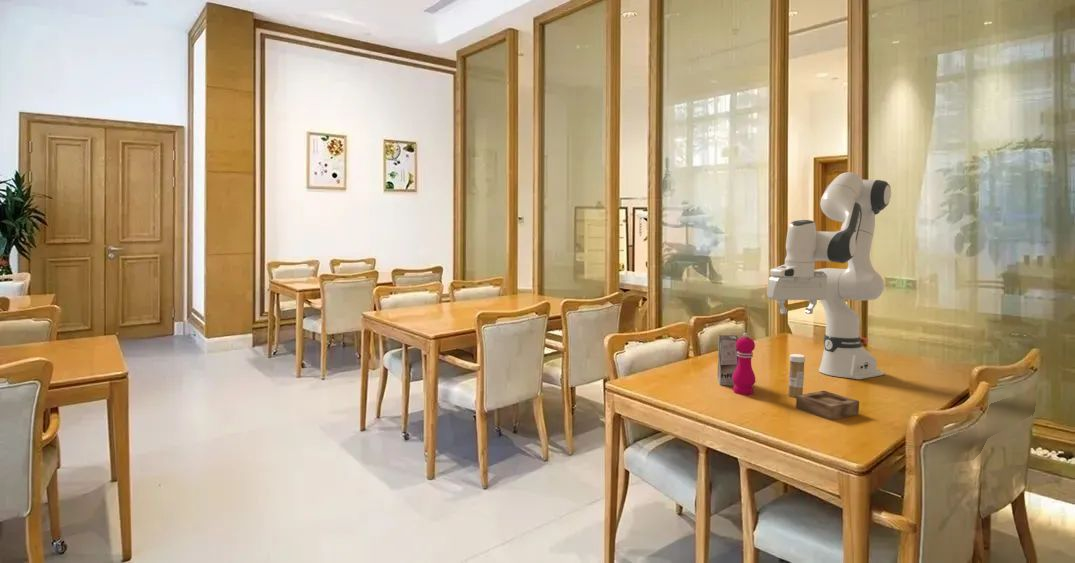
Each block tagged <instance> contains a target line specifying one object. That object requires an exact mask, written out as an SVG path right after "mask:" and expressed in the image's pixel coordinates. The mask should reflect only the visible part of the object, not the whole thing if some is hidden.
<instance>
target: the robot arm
mask: <svg viewBox="0 0 1075 563" xmlns="http://www.w3.org/2000/svg"><path fill="white" fill-rule="evenodd" d="M891 199H892V189H891V185H890V184H889V183H888V182H887V181H885V180H881V179H875V180H873V179H863V178H862V177H861V176H860V175H859V174H856V173H855V172H850V171H846V172H843V173H840V174H838V176H836V177H835V178H834V179H833V180H832V181H831V182H830V183H828V184H827V186H826V187H825V188H824V191H823V194H822V196H821V198H820V202H819V205H820V208H821V212H822V213H823V214H824V215H825V216H826V217H827V218H828V219H830V220H832V221H835V222H841V223H842V225H841V227H840V230H836V231H826V230H824V231H823V230H822V231H821V230H820V231H819V230H817V229H816V228H817V227H816V222H815V221H813V220H811V219H801V220H799V219H798V220H794V221H791V222H790V223H789V226H788V229H787V233H786V239H785V251H786V256H785V258H784V264H781V265H779V266H776V267H773V268H771V269H770V270H769V275H770V277H769V278H768V281H767V285H766V286H767V288H766V297H767V298H768V299H769V300H772V301H773V300H774V301H776V303H777V305H778V308H779V314H781V315H787V314H788V308H787V307H785V305H784V304H785V303H786V301H808V303H809V305H808V306H807V307H805V314H808V315H813V313H814V308H815V307H816V305H817V303H818V301H820V302H821V304H822V307H823V310H824V313H825V334H824V336H823V346H824V347H823V348H824V349H823V352H822V356H821V362H820V364H819V365H820V366H819V369H818V372H820V373H822V374H824V375H826V376H831V377H832V376H833V377H839V378H848V379H854V380H855V379H856V380H863V379H868V378H875V377H879V376H883V375H885V374H884V373H885V372H884V371H883V370H880V369H878V368H877V366H878V365H877V358H876V356H874V355H873V354H871V353H870V352H869V351H868V350H867V349H865V348H864V347H863V344H868V343H869V338H866V337H860V326H861V324H860V322H861V319H860V315H859V314H858V313H857V312H856V311H855V310H853V309H852V308H850V306H848V303H847V302H846V300H854V301H862V302H863V301H873V300H877V299H879V297H880V296H881V295H882V294H883V292H884V289H885V282H884V279H883V278H882V276H881V274H879V273H878V272H877V271H876V270H875V268H874V267H873V265H872V263H871V250H872V249H871V248H872V243H873V238H874V232H875V228H876V226H875V225H876V215H879V213H880V212H882V210H884V209H885V208H886V207H887V206H888V205H889V203H890V201H891ZM817 261H818V262H831V263H837V264H845V263H847V268H833V267H826V268H825V267H824V268H818V269H815V267H816V266H815V264H816V262H817Z"/></svg>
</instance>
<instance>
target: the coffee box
mask: <svg viewBox="0 0 1075 563" xmlns="http://www.w3.org/2000/svg"><path fill="white" fill-rule="evenodd" d="M738 339H739V336H738V335H734V334H733V335H730V334H729V335H727V334H725V335H722V334H719V335H718V344H717V345H718V347H717V348H718V349H717V350H718V352H717V380H718V384H719V386H731V387H734V385H735V383H734V382H733V380H732V378H733V374H734V371H735V369H736V367H737V365H738V356H737V351H738V350H737V348H736V341H737V340H738Z"/></svg>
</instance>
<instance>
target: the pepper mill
mask: <svg viewBox="0 0 1075 563" xmlns="http://www.w3.org/2000/svg"><path fill="white" fill-rule="evenodd" d="M738 338H739V337H738ZM755 347H756V344H755V341H754V340H753V339H752V338H750V337H749V333H748V332H743V334H742V337H740V338H739V339H738V340H737V341H736V348H737V350H738V351H737V356H738V365H737V367H736V369H735V371H734V374H733V378H732V380H733V382H734V383H735V385H734V386H733V393H735V394H737V395H738V394H739V395H741V396H742V395H744V396H746V395H747V396H748V395H753V394H754V387H753V386H754V385H755V383H756V375H755V372H754V370H753V367H752V358H753V357H754V356H753V355H754V353H753V351H754V350H755Z"/></svg>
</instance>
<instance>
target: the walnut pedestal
mask: <svg viewBox="0 0 1075 563" xmlns="http://www.w3.org/2000/svg"><path fill="white" fill-rule="evenodd" d="M795 398H796V401H795V402H796V403H795V408H796V409H797V410H800V411H803V412H806V413H809V414H811V415H815V416H817V417H819V418H820V417H821V418H823V419H826V420H829V421H834V420H839V419H843V418H847V417H853V416H857V415H858V416H859V414H860V413H859V412H860V400H856V399H853V398H850V397H847V396H843V395H839V394H836V393H834V392H833V393H832V392H829V391H827V390H821V391H820V390H819V391H814V392H808V393H803V394H802V395H797V397H795Z"/></svg>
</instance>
